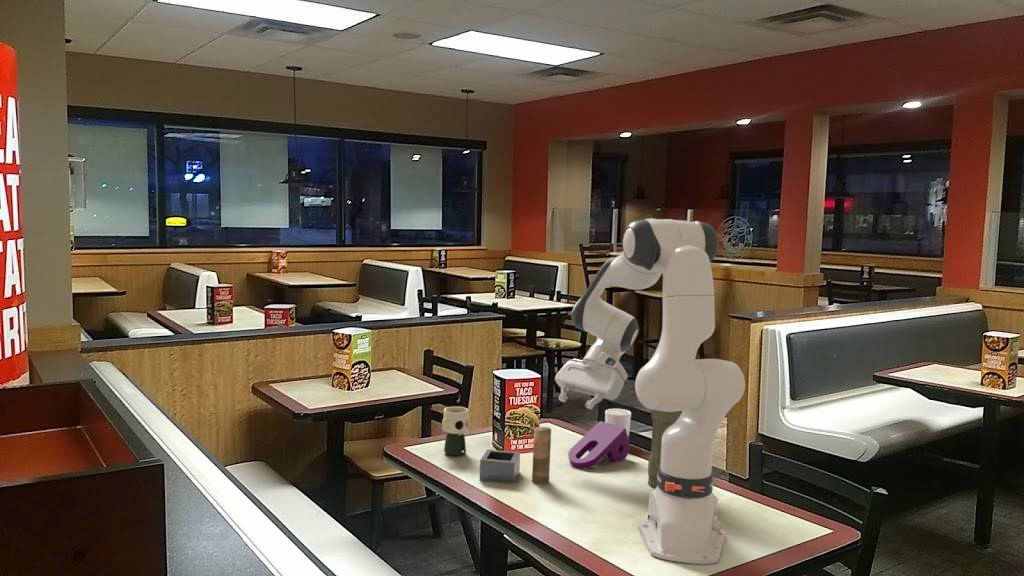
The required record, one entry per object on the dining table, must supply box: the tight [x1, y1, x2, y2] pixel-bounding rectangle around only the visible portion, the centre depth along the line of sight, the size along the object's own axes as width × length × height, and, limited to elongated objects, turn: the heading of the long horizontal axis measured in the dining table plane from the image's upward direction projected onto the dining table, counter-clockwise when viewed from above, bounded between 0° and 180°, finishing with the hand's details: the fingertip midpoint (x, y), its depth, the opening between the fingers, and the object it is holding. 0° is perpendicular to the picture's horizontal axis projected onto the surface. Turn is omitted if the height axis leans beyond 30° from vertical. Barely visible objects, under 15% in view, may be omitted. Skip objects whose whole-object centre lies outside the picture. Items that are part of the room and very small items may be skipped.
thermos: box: [647, 410, 682, 490], centre depth 199 cm, size 9×12×35 cm
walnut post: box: [531, 426, 552, 485], centre depth 200 cm, size 4×4×14 cm
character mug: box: [441, 406, 470, 456], centre depth 220 cm, size 11×7×13 cm, turn 141°
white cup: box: [604, 408, 632, 437], centre depth 236 cm, size 8×8×10 cm
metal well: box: [479, 449, 521, 485], centre depth 203 cm, size 9×9×6 cm
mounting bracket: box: [567, 420, 630, 470], centre depth 219 cm, size 10×8×18 cm
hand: (574, 404), depth 208 cm, fingers open, 8 cm apart
